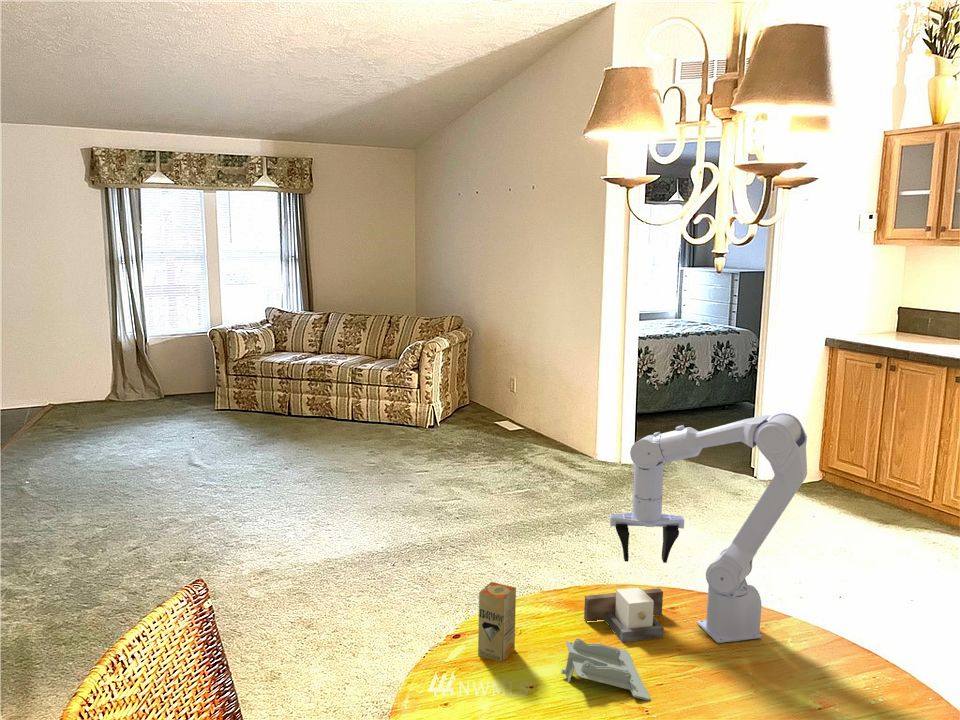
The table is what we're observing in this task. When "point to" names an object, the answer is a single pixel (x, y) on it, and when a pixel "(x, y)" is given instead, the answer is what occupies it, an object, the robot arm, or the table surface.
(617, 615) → the cabinet block
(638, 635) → the board
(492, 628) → the shoe polish box
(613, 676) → the metal bracket
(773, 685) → the table surface
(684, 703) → the table surface
